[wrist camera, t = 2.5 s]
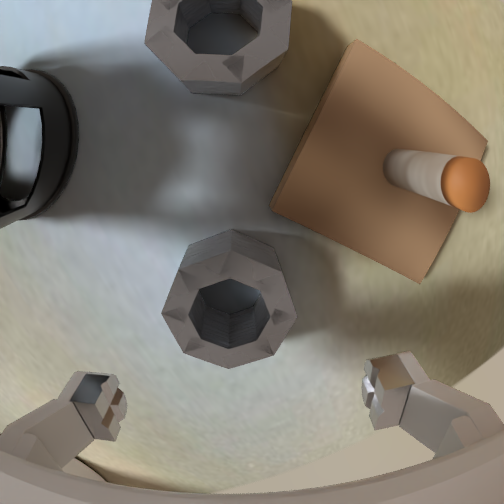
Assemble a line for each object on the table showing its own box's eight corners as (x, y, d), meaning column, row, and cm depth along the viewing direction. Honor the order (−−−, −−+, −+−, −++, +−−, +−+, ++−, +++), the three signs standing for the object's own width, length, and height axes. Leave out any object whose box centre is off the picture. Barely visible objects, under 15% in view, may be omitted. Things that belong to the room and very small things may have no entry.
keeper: (408, 274, 19) (477, 336, 12) (268, 205, 17) (293, 252, 10) (473, 139, 16) (560, 151, 9) (347, 46, 14) (414, -4, 7)
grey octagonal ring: (274, 98, 15) (285, 87, 12) (158, 92, 15) (139, 80, 11) (283, 0, 13) (294, -28, 10) (172, -5, 13) (159, -34, 9)
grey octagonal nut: (255, 342, 20) (258, 378, 16) (163, 307, 19) (151, 340, 15) (301, 259, 18) (315, 286, 15) (201, 216, 17) (192, 234, 14)
